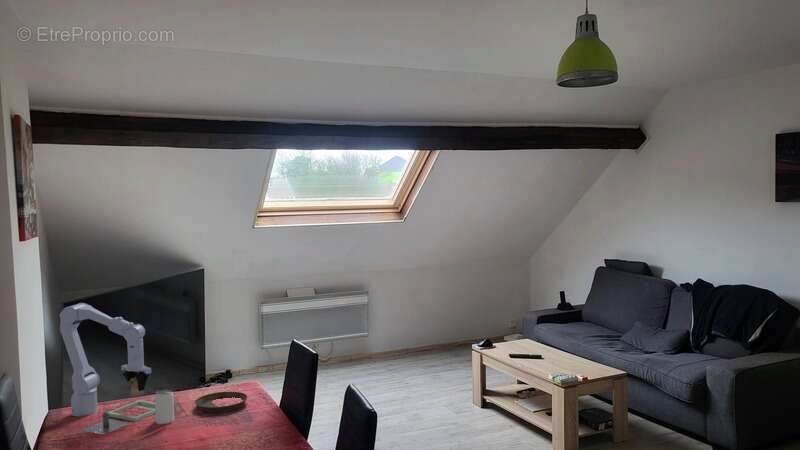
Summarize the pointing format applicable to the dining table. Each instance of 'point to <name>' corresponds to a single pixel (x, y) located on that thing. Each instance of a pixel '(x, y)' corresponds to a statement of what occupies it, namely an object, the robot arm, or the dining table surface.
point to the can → (164, 406)
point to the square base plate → (105, 425)
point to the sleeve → (134, 387)
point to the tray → (136, 404)
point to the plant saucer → (206, 400)
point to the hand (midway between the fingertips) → (137, 389)
